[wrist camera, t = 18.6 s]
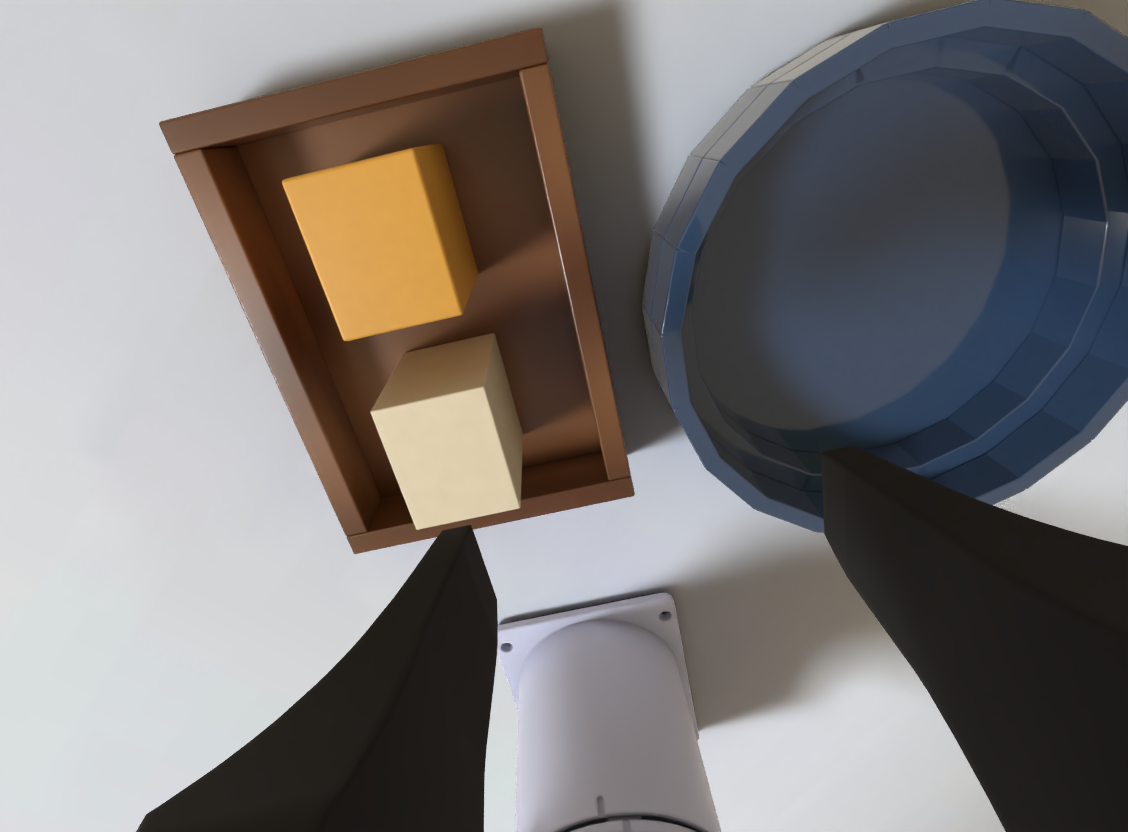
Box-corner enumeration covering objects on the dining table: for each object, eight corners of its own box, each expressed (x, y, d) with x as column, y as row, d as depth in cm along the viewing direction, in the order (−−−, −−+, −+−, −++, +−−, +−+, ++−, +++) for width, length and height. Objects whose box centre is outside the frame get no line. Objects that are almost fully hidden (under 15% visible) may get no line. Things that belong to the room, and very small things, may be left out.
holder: (624, 457, 24) (635, 496, 21) (372, 510, 24) (354, 555, 22) (540, 39, 18) (541, 25, 15) (209, 122, 18) (156, 121, 16)
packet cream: (523, 434, 22) (520, 508, 18) (438, 453, 23) (416, 530, 18) (494, 332, 21) (484, 386, 16) (403, 352, 21) (369, 411, 17)
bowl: (1057, 430, 24) (1150, 483, 20) (674, 509, 25) (698, 574, 21) (1124, -33, 18) (1276, -74, 14) (604, 94, 18) (621, 86, 15)
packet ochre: (479, 274, 20) (464, 315, 16) (384, 296, 20) (343, 343, 16) (442, 142, 18) (413, 147, 14) (339, 167, 18) (278, 179, 14)
